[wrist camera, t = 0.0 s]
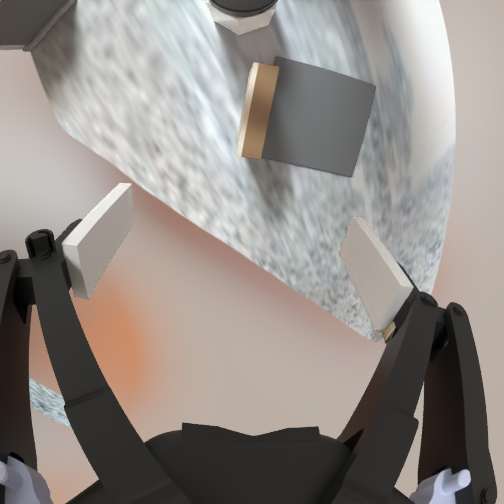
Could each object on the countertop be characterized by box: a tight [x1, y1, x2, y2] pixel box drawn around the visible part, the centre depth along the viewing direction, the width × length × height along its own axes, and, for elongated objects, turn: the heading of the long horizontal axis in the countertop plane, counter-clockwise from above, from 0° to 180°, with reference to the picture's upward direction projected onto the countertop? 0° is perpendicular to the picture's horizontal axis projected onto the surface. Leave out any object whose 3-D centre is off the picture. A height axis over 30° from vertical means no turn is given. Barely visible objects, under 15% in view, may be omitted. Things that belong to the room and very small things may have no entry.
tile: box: [236, 62, 279, 160], centre depth 31 cm, size 10×2×14 cm, turn 170°
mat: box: [261, 57, 376, 177], centre depth 38 cm, size 16×16×1 cm
